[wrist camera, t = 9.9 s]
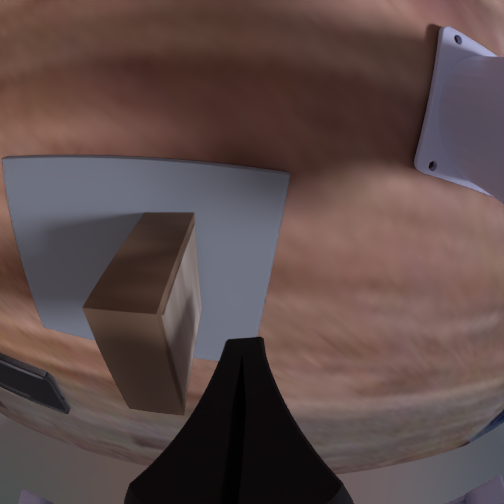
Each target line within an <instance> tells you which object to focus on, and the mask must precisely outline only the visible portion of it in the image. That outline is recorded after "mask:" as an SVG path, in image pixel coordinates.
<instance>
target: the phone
mask: <svg viewBox="0 0 504 504" xmlns="http://www.w3.org/2000/svg"><path fill="white" fill-rule="evenodd" d="M0 387H2V388H4V389H6V390H8V391H10V392H13V393H15V394H17V395H19V396H21V397H24V398H26V399H28V400H30V401H33V402H35V403H38V404H40V405H43V406H45V407H48V408H50V409H53V410H56V411H58V412H61V413H64V414H69V411H70V408H71V407H70V405H69V403H68V401H67V400H66V398H65V396H64V394H63V393H62V391H61V389H60V387H59V385H58V384H57V382H56V380H55V378H54V377H53V376H52V375H51V374H49V373H48V372H46V371H44V370H42V369H39V368H36V367H33V366H31V365H28V364H26V363H23V362H20V361H18V360H16V359H13V358H11V357H8V356H6V355H4V354H1V353H0ZM61 395H62V396H63V398H64V399H63V398H62V396H61Z"/></svg>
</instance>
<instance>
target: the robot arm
mask: <svg viewBox="0 0 504 504" xmlns="http://www.w3.org/2000/svg"><path fill="white" fill-rule="evenodd" d="M454 36H455V37H456V38H457V40H458V43H456V42H455V40H454ZM432 161H433V166H432V168H430V169H429V164H430V162H432ZM414 166H415V168H416V169H417V170H418V171H420V172H422V173H425V174H428V175H431V176H435V177H438V178H441V179H444V180H447V181H450V182H453V183H456V184H459V185H462V186H465V187H468V188H471V189H473V190H476V191H479V192H482V193H484V194H487V195H489V196H492V197H495V198H496V199H497V200H499V201H500V202H502V203H503V204H504V57H498V56H496V55H495V54H494V53H492V52H491V51H489V50H488V49H486V48H485V47H483V46H482V45H480V44H479V43H477V42H475V41H474V40H472V39H470V38H469V37H467V36H466V35H464V34H462V33H460V32H459V31H457V30H455V29H453V28H452V27H449V26H445V27H441V28H440V30H439V35H438V44H437V51H436V59H435V65H434V71H433V77H432V83H431V89H430V94H429V99H428V104H427V109H426V113H425V118H424V122H423V127H422V131H421V135H420V139H419V143H418V147H417V151H416V155H415V158H414ZM19 504H53V503H52V502H50V501H48V500H46V499H44V498H42V497H40V496H38V495H36V494H34V493H31V492H29V491H27V490H25V489H22V493H21V496H20V501H19ZM124 504H354V503H353V500H352V498H351V497H350V495H349V493H348V491H347V490H346V488H345V487H344V485H343V483H342V481H341V480H340V479H339V478H338V477H337V476H336V475H335V474H334V473H333V472H332V471H331V469H330V468H329V467H328V466H327V465H326V464H325V462H324V461H323V460H322V459H321V457H320V456H319V455H318V454H317V452H316V451H315V450H314V448H313V447H312V445H311V444H310V443H309V441H308V440H307V438H306V437H305V436H304V434H303V433H302V431H301V430H300V428H299V426H298V425H297V423H296V422H295V420H294V418H293V416H292V415H291V413H290V411H289V409H288V408H287V406H286V404H285V402H284V400H283V398H282V396H281V394H280V392H279V389H278V387H277V385H276V382H275V380H274V377H273V375H272V372H271V370H270V367H269V364H268V360H267V357H266V352H265V345H264V339H263V338H262V337H250V338H237V339H228V340H227V341H226V342H225V345H224V349H223V351H222V354H221V357H220V360H219V362H218V364H217V367H216V369H215V371H214V374H213V376H212V378H211V380H210V382H209V384H208V386H207V388H206V390H205V392H204V394H203V396H202V397H201V399H200V401H199V403H198V405H197V406H196V408H195V410H194V411H193V413H192V414H191V416H190V418H189V419H188V421H187V422H186V423H185V425H184V426H183V428H182V429H181V430H180V432H179V433H178V434H177V436H176V437H175V438H174V440H173V441H172V442H171V443H170V444H169V446H168V447H167V448H166V449H165V450H164V451H163V452H162V453H161V454H160V456H159V457H158V458H157V459H156V460H155V461H154V462H153V463H152V464H151V465H150V466H149V467H148V468H147V469H146V470H145V471H143V472H142V473H141V474H140V475H139V476H138V477H137V478H136V479H135V480H134V481H132V482H131V483H130V484H129V487H128V490H127V493H126V496H125V500H124ZM446 504H504V484H503V480H502V477H501V476H500V475H499V476H497V477H495V478H493V479H492V480H490V481H488V482H486V483H484V484H482V485H480V486H479V487H477V488H475V489H473V490H471V491H469V492H468V493H466V494H465V495H464V496H461V497H459V498H457V499H455V500H453V501H450V502H448V503H446Z"/></svg>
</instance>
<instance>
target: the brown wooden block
mask: <svg viewBox="0 0 504 504" xmlns="http://www.w3.org/2000/svg"><path fill="white" fill-rule="evenodd" d="M82 309H83V311H84V314H85V317H86V319H87V322H88V324H89V326H90V329H91V331H92V334H93V336H94V338H95V341H96V343H97V345H98V347H99V350H100V352H101V354H102V356H103V358H104V360H105V362H106V365H107V367H108V369H109V371H110V373H111V375H112V377H113V379H114V381H115V383H116V385H117V387H118V388H119V390H120V392H121V394H122V396H123V398H124V400H125V402H126V403H127V405H128V407H129V408H131V409H137V410H143V411H150V412H157V413H165V414H174V415H184V412H185V405H186V399H187V392H188V386H189V380H190V374H191V368H192V362H193V356H194V350H195V345H196V339H197V333H198V328H199V322H200V317H201V312H202V304H201V293H200V282H199V270H198V258H197V244H196V229H195V213H194V212H145V213H144V214H143V215H142V217H141V218H140V220H139V221H138V222H137V224H136V225H135V227H134V228H133V229H132V231H131V232H130V234H129V235H128V237H127V238H126V239H125V241H124V242H123V244H122V245H121V247H120V248H119V250H118V251H117V253H116V254H115V256H114V257H113V259H112V260H111V262H110V263H109V265H108V266H107V268H106V269H105V271H104V273H103V274H102V276H101V277H100V279H99V280H98V282H97V284H96V285H95V287H94V289H93V290H92V292H91V293H90V295H89V297H88V298H87V300H86V302H85V303H84V305H83V307H82Z"/></svg>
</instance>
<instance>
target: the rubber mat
mask: <svg viewBox="0 0 504 504" xmlns="http://www.w3.org/2000/svg"><path fill="white" fill-rule="evenodd" d="M2 163H3V172H4V180H5V187H6V193H7V200H8V205H9V211H10V216H11V221H12V225H13V230H14V234H15V239H16V243H17V247H18V251H19V254H20V258H21V262H22V265H23V269H24V272H25V275H26V279H27V282H28V285H29V288H30V291H31V294H32V297H33V300H34V302H35V305H36V308H37V311H38V313H39V316H40V319H41V321H42V324H43V326H44V327H45V328H48V329H52V330H56V331H59V332H63V333H67V334H71V335H75V336H79V337H83V338H87V339H91V340H95V338H94V336H93V334H92V331H91V329H90V326H89V324H88V322H87V319H86V317H85V314H84V311H83V309H82V307H83V305H84V303H85V302H86V300H87V298H88V297H89V295H90V293H91V292H92V290H93V289H94V287H95V285H96V284H97V282H98V280H99V279H100V277H101V276H102V274H103V273H104V271H105V269H106V268H107V266H108V265H109V263H110V262H111V260H112V259H113V257H114V256H115V254H116V253H117V251H118V250H119V248H120V247H121V245H122V244H123V242H124V241H125V239H126V238H127V237H128V235H129V234H130V232H131V231H132V229H133V228H134V227H135V225H136V224H137V222H138V221H139V220H140V218H141V217H142V215H143V214H144V213H145V212H194V213H195V229H196V244H197V258H198V270H199V282H200V293H201V304H202V312H201V317H200V322H199V328H198V333H197V339H196V345H195V350H194V356H193V358H198V359H206V360H215V361H219V360H220V357H221V354H222V351H223V349H224V345H225V342H226V341H227V340H228V339H237V338H250V337H257V335H258V330H259V326H260V321H261V317H262V312H263V307H264V303H265V298H266V293H267V289H268V284H269V279H270V274H271V270H272V265H273V260H274V255H275V250H276V245H277V240H278V235H279V231H280V226H281V221H282V216H283V210H284V205H285V200H286V195H287V190H288V185H289V180H290V174H289V172H283V171H277V170H270V169H263V168H255V167H247V166H239V165H231V164H222V163H213V162H203V161H192V160H180V159H167V158H153V157H135V156H110V155H31V156H8V157H5V158H3V159H2Z"/></svg>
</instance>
